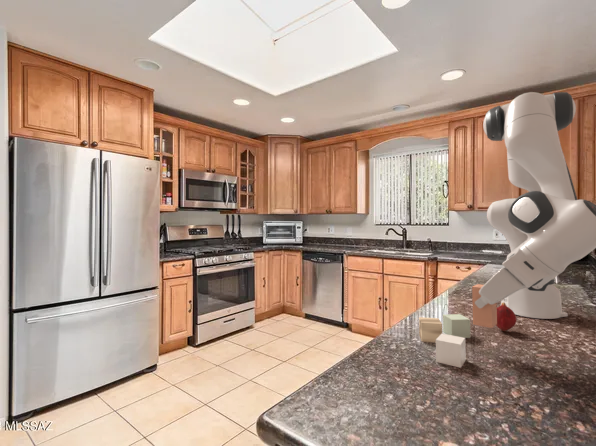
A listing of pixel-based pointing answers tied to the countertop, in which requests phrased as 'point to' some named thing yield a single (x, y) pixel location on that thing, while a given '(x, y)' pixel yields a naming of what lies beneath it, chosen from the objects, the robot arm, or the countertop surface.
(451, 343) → the ceramic block
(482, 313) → the terracotta post
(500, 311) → the onion
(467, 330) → the sage block
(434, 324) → the maple block
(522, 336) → the countertop surface
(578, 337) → the countertop surface
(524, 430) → the countertop surface
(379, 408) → the countertop surface
